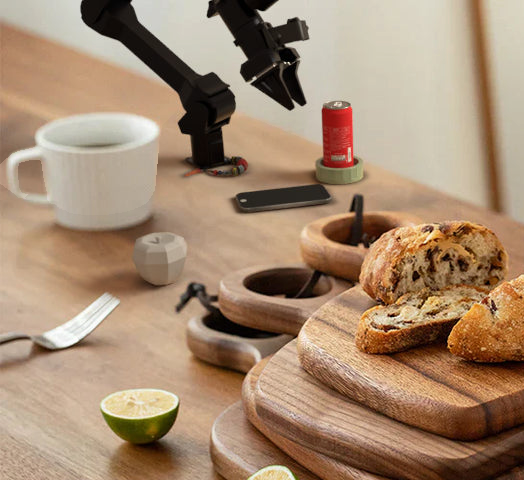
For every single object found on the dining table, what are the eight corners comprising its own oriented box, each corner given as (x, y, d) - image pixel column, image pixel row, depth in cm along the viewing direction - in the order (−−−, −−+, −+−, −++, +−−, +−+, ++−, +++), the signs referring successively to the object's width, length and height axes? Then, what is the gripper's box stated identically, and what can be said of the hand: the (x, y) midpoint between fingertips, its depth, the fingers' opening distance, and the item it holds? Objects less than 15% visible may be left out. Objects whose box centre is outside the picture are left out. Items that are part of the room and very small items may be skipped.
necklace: (249, 176, 187) (247, 165, 186) (185, 185, 186) (183, 174, 185) (247, 162, 194) (246, 151, 193) (186, 171, 193) (184, 160, 193)
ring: (306, 175, 187) (306, 160, 186) (344, 165, 192) (344, 151, 190) (334, 187, 181) (333, 173, 180) (372, 177, 186) (372, 162, 184)
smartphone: (234, 192, 178) (322, 183, 181) (234, 197, 178) (322, 187, 181) (241, 209, 171) (333, 198, 174) (241, 213, 172) (333, 202, 175)
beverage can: (319, 176, 185) (317, 107, 179) (328, 166, 189) (326, 99, 184) (348, 178, 183) (347, 109, 178) (357, 169, 188) (355, 101, 182)
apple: (175, 296, 145) (170, 251, 142) (123, 288, 148) (117, 244, 145) (201, 272, 152) (197, 229, 149) (151, 265, 154) (146, 222, 151)
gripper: (272, -3, 167) (327, 83, 170) (298, -1, 185) (347, 77, 187) (216, 37, 170) (270, 122, 173) (246, 36, 188) (296, 112, 190)
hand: (298, 107), depth 181 cm, fingers open, 9 cm apart
